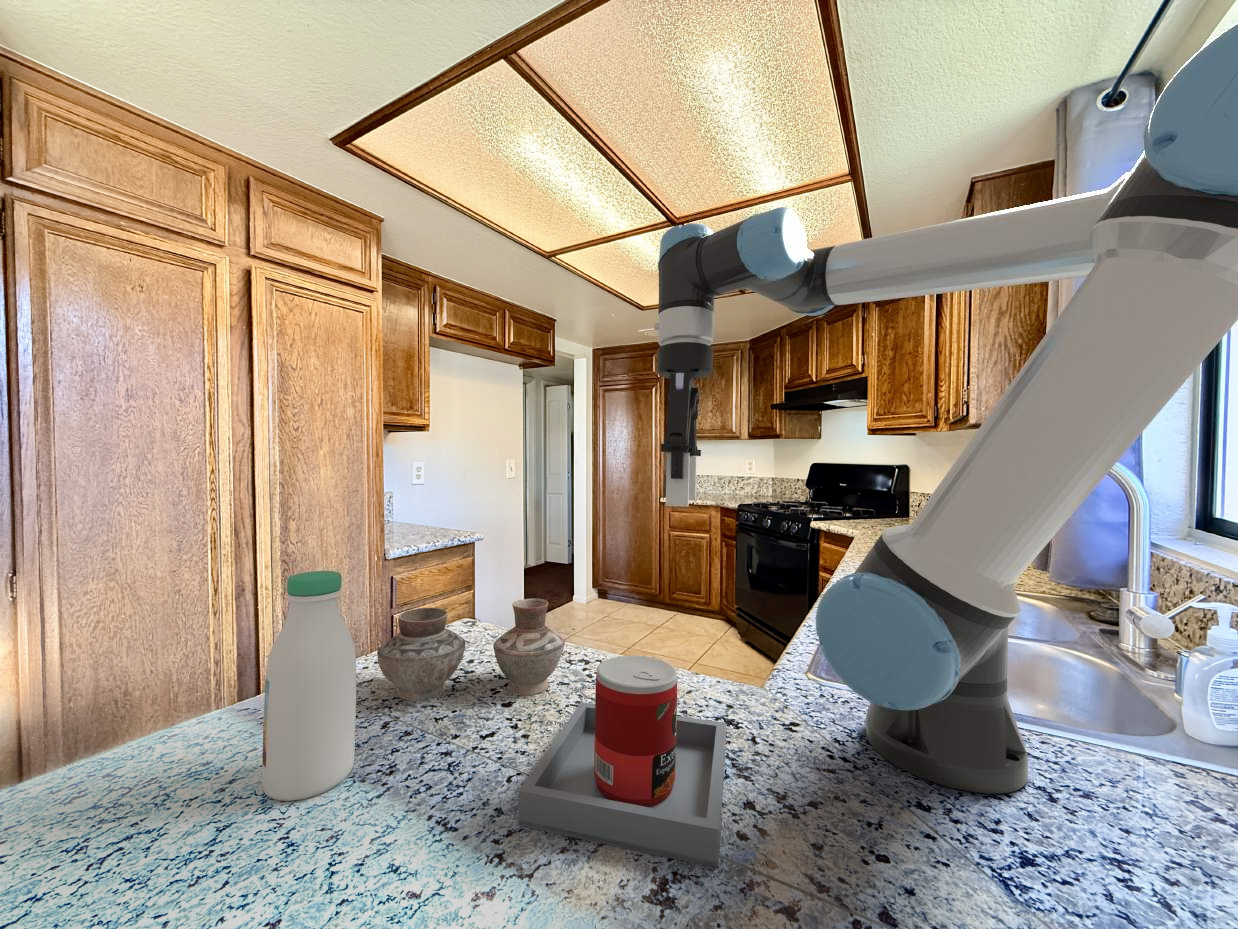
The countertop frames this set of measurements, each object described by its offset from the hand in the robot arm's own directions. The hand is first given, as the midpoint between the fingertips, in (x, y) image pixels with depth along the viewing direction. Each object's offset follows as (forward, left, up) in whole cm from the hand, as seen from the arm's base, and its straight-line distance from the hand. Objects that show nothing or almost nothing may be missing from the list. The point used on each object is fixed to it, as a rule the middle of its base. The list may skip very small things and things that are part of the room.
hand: (682, 503), depth 67 cm
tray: (+2, +19, -27) cm, 33 cm away
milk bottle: (+33, +27, -27) cm, 50 cm away
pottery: (+28, +5, -27) cm, 39 cm away
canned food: (+2, +20, -26) cm, 33 cm away
